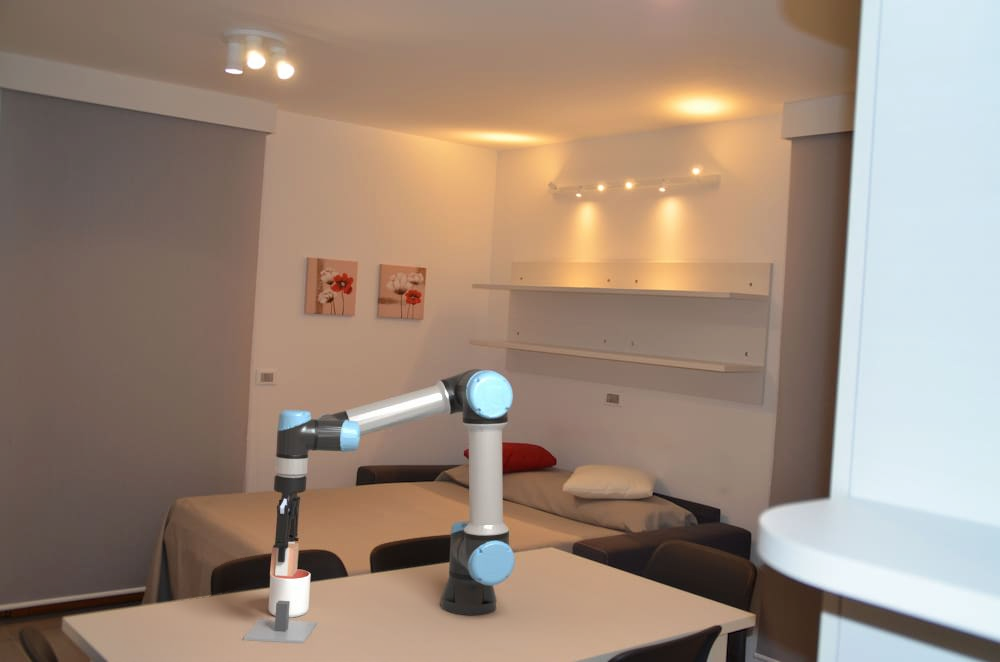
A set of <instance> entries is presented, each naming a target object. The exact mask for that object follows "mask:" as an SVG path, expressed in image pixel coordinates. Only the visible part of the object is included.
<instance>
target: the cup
mask: <svg viewBox="0 0 1000 662" xmlns="http://www.w3.org/2000/svg"><path fill="white" fill-rule="evenodd" d="M311 574H312V573H310V572H309V571H307V570H304V569H298V568H297V572H296V573H295V574H294V575H293V576H292V577H291V576H276V575H270V574H269V577H270V578H269V596H268V597H269V598H268V612H269V613H270V614H271V615H272V616H274V617H275V616H276V603H277V602H278V601H290V605H289V619H290V618H297V617H298V618H299V617H301V616H303V615H306V614H307V613H308V611H309V608H310V605H309V604H310V591H311V589H310V588H311Z"/></svg>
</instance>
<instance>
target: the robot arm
mask: <svg viewBox="0 0 1000 662" xmlns="http://www.w3.org/2000/svg"><path fill="white" fill-rule="evenodd" d="M513 393H514V391H513V388H512V385H511V383H510V382H509V381H508V380H507V378H505V376H504V375H502V374H500V373H498V372H496V371H494V370H488V369H486V370H484V369H469V370H466V371H463V372H461V373H458V374H455V375H452V376H449V377H446V378H444V379H440V380H438V381H437V382H436V384H435V385H432V386H429V387H425V388H422V389H418V390H415V391H411V392H406V393H404V394H399V395H397V396H393V397H389V398H386V399H382V400H378V401H375V402H371V403H367V404H365V405H364V404H363V405H359V406H357V407H354V408H350V409H345V410H344V411H340V412H339V411H338V412H335V413H330V414H329V413H326V414H322V415H321V416H319V417H317V419H315V418H312V416H311V415H312V413H311V412H310V411H309V410H308V411H307V410H301V409H300V410H299V409H285V410H282V411H281V412H280V413H279V415H278V424H277V425H278V426H277V430H276V431H277V432H276V433H277V434H276V450H275V451H276V454H275V456H276V457H275V459H274V460H273V464H274V465H275V466H274V467H275V470H274V472H275V474H276V475H275V476H274V479H273V490H274V491H275V493H276V492H277V493H281V499H279V500H278V504H277V506H276V524H275V525H276V526H275V538H274V544H273V545H272V547H274V548H277V555H276V570H275V575H279V576H287V573H288V558H289V548H288V543H295V544H296V542H299V537H298V530H299V528H298V527H299V515H300V514H299V512H300V503H301V502H300V501H301V496H298V494H300V493H304V492H306V490H307V479H308V477H307V476H306V475H307V474H308V466H309V465H308V463H309V451H325V452H327V451H329V452H342V453H345V452H355V451H357V450H358V448H359V445H360V438H361V437H362V436H365V435H369V434H372V433H376V432H379V431H383V430H386V429H390V428H393V427H398V426H401V425H405V424H408V423H411V422H415V421H418V420H422V419H427V418H430V417H432V416H433V417H434V416H436V415H439V414H445V415H447V416H450V415H453V414H458V413H462V425H463V426H465V428H466V429H467V430H468V474H469V475H468V477H469V479H468V482H469V485H468V488H469V489H468V490H469V492H468V495H469V503H468V504H469V521H468V520H467V521H465V520H464V521H456V522H453V524H452V525H451V531H450V535H449V536H450V546H449V547H450V548H449V565H448V569H449V570H448V578H447V582H446V583H445V587H444V589H443V592H442V594H441V596H440V597H441V598H440V607H441V608H442V609H443V610H445V611H447V612H450V613H453V614H456V615H457V614H458V615H466V616H468V615H469V616H471V615H472V616H476V615H485V614H490V613H493V612H494V611H496V609H497V595H496V592H495V589H494V586H496V585H499V584H501V583H503V582H505V581H506V580H507V579H508V578H509V577H510V575H511V574H512V573H513V571H514V567H515V565H516V564H515V563H516V562H515V561H516V557H515V554H514V551H513V549H512V548H511V546H510V527H508V525H506V523H504V504H503V497H504V493H503V485H504V484H503V429H504V428H505V427H506V426H507V425H508V422H509V421H508V418H509V417H508V413H509V409H510V408H511V406H512V404H513V399H514V394H513Z"/></svg>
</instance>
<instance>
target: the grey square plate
mask: <svg viewBox="0 0 1000 662" xmlns="http://www.w3.org/2000/svg"><path fill="white" fill-rule="evenodd" d="M289 605H290V601H278V602H277V603H276V616H274V617H275V619H267V618H265V619H263V618H259V620H257V622H256V623H255V624H254V625H253V627H252V628H251V629H250V630H249V631H247V634H246V635H245V636H244V637H243V641H256V642H270V643H271V642H272V643H274V642H275V643H293V644H295V643H296V644H305V642H306V641H307V639H308V638H309V637H310V635H311V633H312V632H313V630H314V629H315V627H316V626H317V624H318V622H317V621H304V620H303V621H301V620H290V618H289Z"/></svg>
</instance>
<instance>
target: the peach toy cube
mask: <svg viewBox="0 0 1000 662" xmlns="http://www.w3.org/2000/svg"><path fill="white" fill-rule="evenodd" d="M299 546H300V543H296V542H295V543H288V548H289V558H288V573H287V576H291V577H292V576H293V575H294V574H295V573H296V572H297V569H298V562H299V549H300V547H299ZM276 555H277V548H274V547H273V546H272V547H271V557H270V558H271V559H270V569H269V570H270V571H269V576H270V575H275V570H276ZM276 576H279V575H276Z"/></svg>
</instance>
